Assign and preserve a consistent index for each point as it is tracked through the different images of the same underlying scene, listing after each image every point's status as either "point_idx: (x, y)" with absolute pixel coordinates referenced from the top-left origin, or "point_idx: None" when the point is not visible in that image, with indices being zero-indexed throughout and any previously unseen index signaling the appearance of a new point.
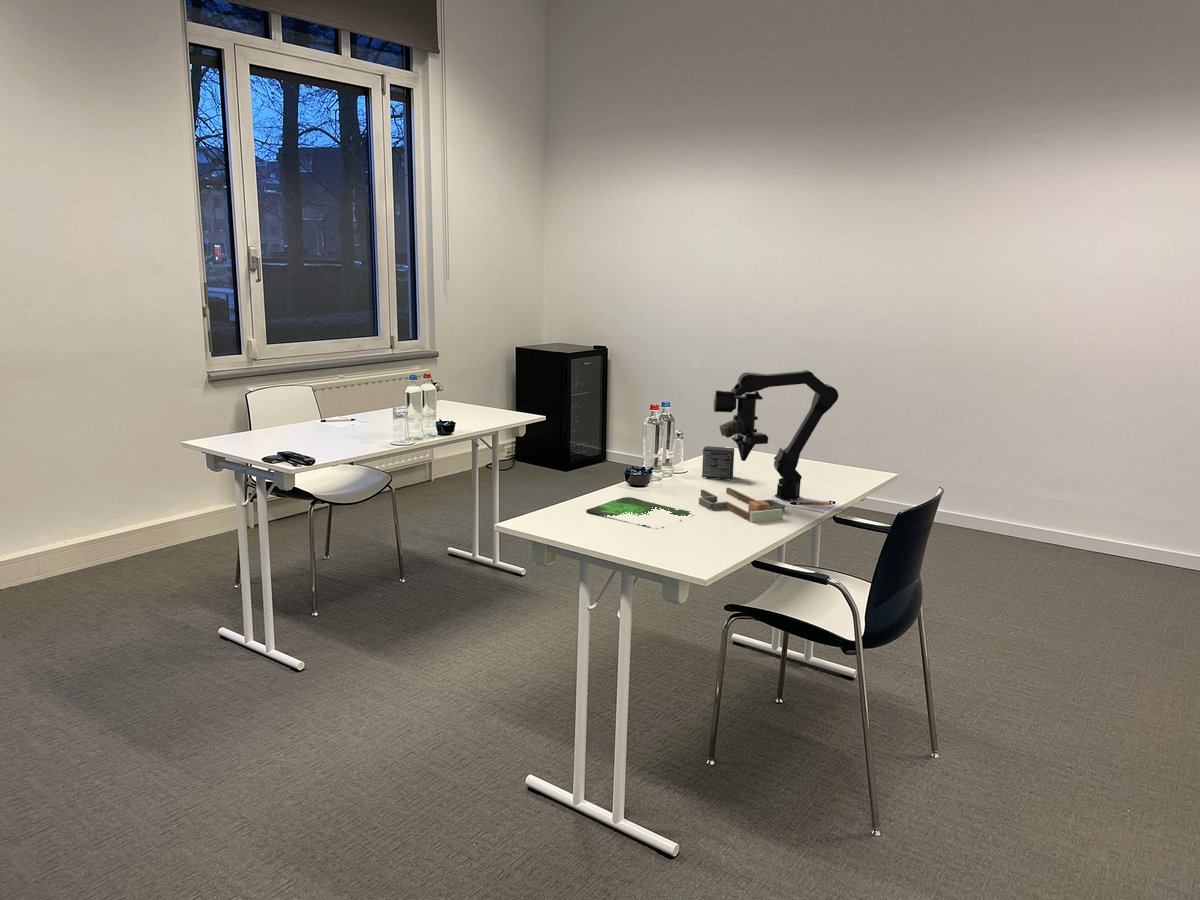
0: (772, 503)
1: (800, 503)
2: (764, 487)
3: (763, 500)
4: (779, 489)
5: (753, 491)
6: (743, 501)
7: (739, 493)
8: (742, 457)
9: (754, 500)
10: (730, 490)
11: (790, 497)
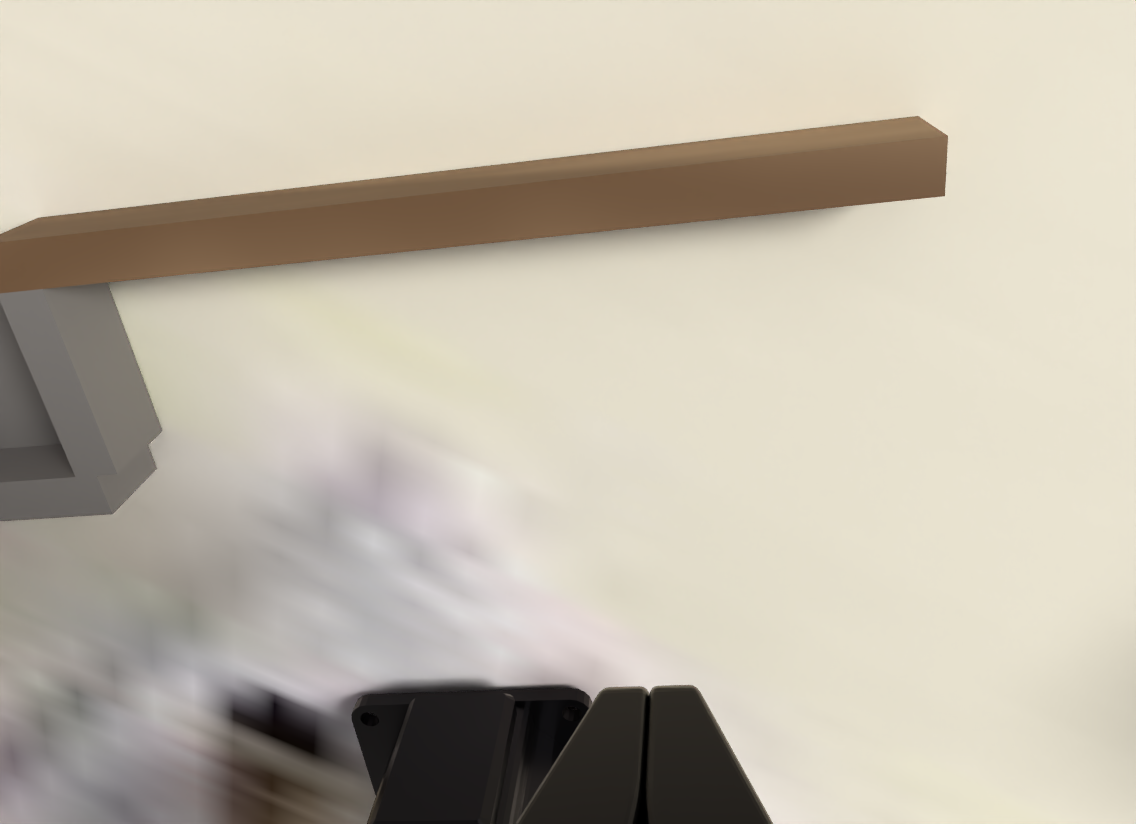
0: (43, 465)
1: (269, 775)
2: (1023, 763)
3: (63, 386)
4: (438, 768)
5: (892, 568)
6: (358, 183)
7: (495, 203)
8: (565, 772)
9: (53, 256)
10: (786, 151)
11: (382, 773)
